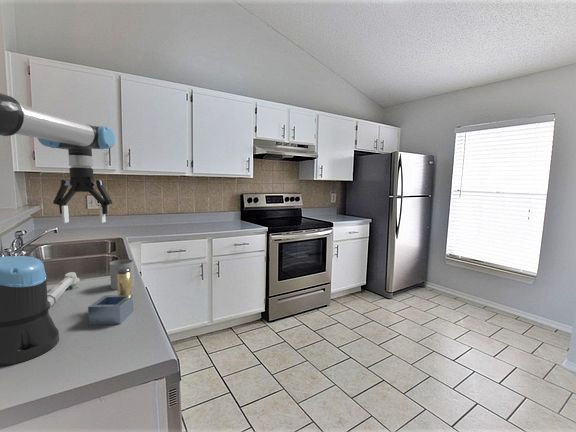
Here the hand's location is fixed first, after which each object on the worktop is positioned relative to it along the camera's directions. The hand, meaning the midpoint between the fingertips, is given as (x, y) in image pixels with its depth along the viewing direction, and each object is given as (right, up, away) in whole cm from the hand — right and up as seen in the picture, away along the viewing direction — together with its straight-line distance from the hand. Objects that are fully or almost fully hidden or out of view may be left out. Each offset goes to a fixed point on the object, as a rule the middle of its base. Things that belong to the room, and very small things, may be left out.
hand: (84, 222), depth 118 cm
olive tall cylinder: (+23, -28, -13) cm, 39 cm away
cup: (+12, -26, +6) cm, 29 cm away
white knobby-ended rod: (-5, -28, -6) cm, 29 cm away
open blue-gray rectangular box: (+24, -29, -22) cm, 44 cm away
